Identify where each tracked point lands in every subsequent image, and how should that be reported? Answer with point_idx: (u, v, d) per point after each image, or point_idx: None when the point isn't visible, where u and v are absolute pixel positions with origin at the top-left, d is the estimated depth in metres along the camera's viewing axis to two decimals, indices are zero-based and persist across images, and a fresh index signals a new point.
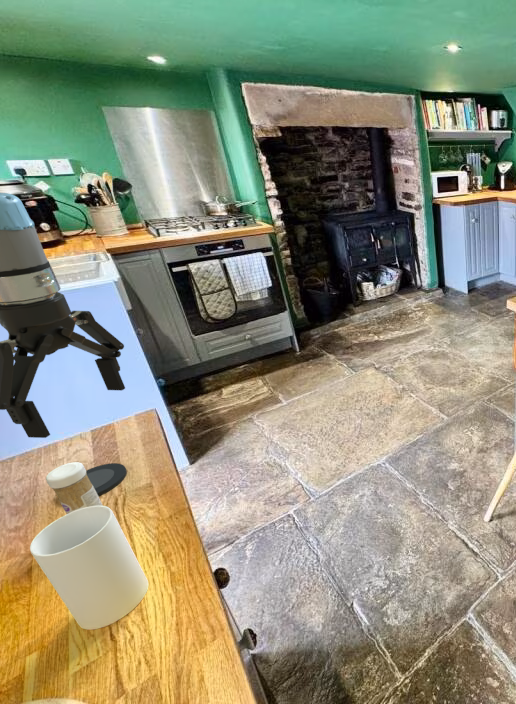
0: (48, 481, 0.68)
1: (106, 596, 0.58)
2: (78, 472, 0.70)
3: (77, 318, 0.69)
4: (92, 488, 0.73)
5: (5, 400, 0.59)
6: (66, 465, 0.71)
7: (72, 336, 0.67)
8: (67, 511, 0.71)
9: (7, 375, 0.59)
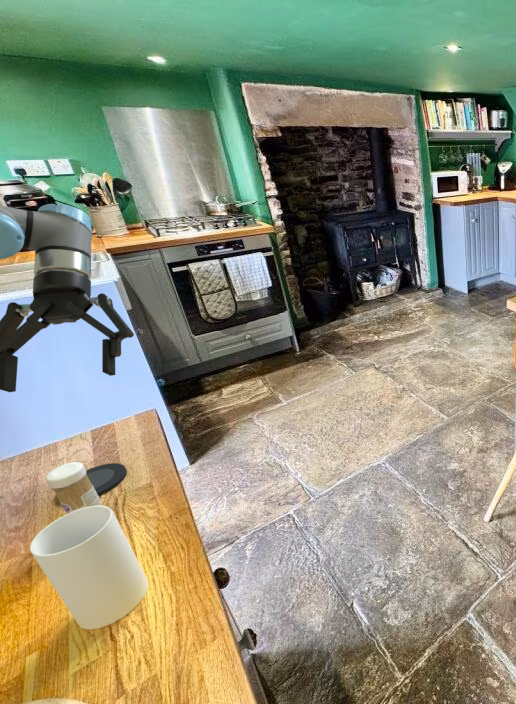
0: (48, 481, 0.68)
1: (106, 596, 0.58)
2: (78, 472, 0.70)
3: None
4: (92, 488, 0.73)
5: None
6: (66, 465, 0.71)
7: None
8: (67, 511, 0.71)
9: None
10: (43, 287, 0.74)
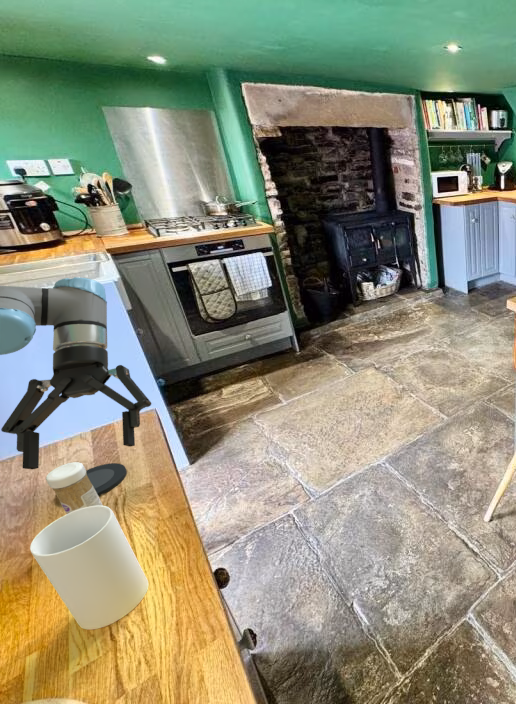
0: (48, 481, 0.68)
1: (106, 596, 0.58)
2: (78, 472, 0.70)
3: None
4: (92, 488, 0.73)
5: None
6: (66, 465, 0.71)
7: None
8: (67, 511, 0.71)
9: None
10: (64, 363, 0.77)
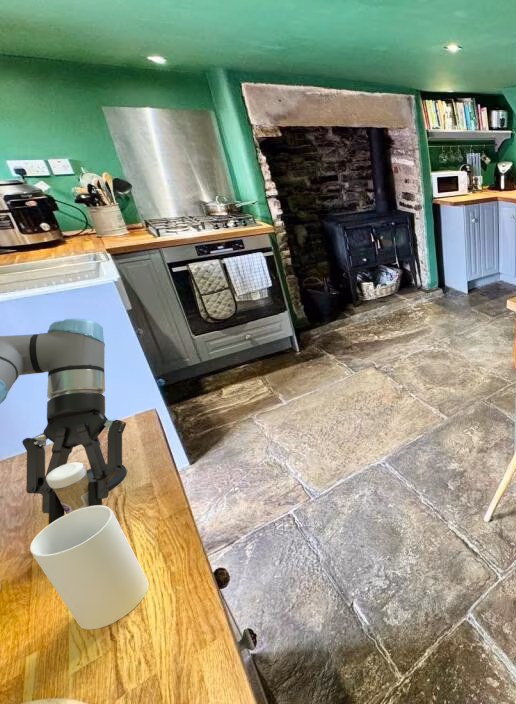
0: (49, 481, 0.68)
1: (106, 596, 0.58)
2: (79, 472, 0.70)
3: None
4: None
5: None
6: (66, 465, 0.71)
7: None
8: (67, 511, 0.71)
9: None
10: (58, 413, 0.73)
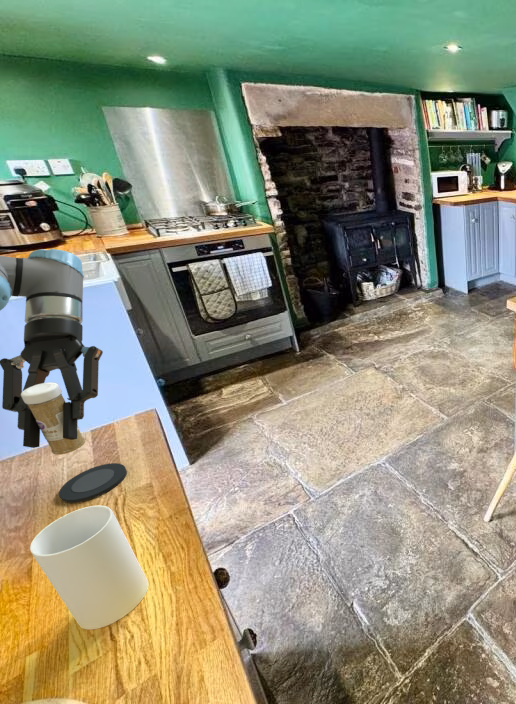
0: (23, 397, 0.70)
1: (106, 596, 0.58)
2: (53, 390, 0.72)
3: None
4: None
5: None
6: (41, 384, 0.72)
7: None
8: (42, 429, 0.72)
9: None
10: (35, 335, 0.74)
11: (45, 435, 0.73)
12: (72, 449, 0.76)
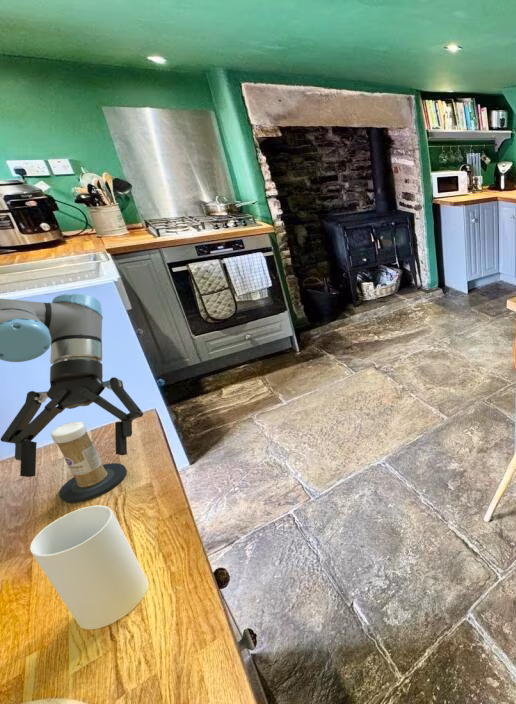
0: (53, 437, 0.76)
1: (106, 596, 0.58)
2: (80, 430, 0.79)
3: None
4: (92, 445, 0.81)
5: None
6: (69, 424, 0.79)
7: None
8: (70, 465, 0.79)
9: None
10: (60, 376, 0.81)
11: (72, 470, 0.80)
12: (96, 482, 0.82)
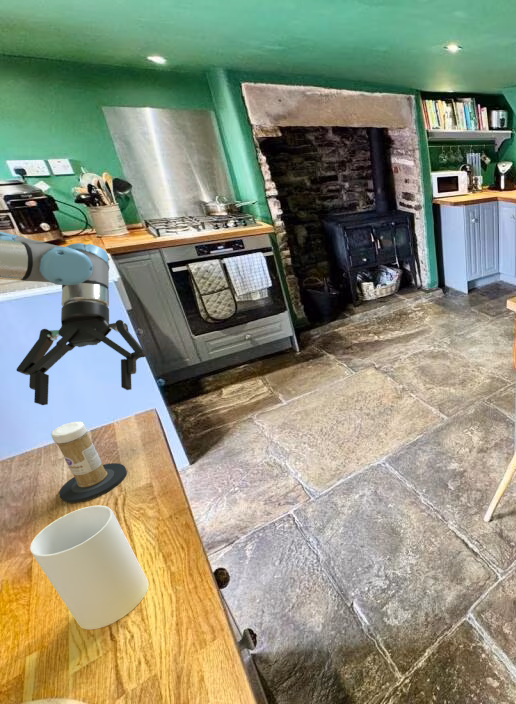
0: (53, 437, 0.76)
1: (106, 596, 0.58)
2: (80, 430, 0.79)
3: None
4: (92, 445, 0.81)
5: None
6: (69, 424, 0.79)
7: None
8: (70, 465, 0.79)
9: None
10: (71, 315, 0.88)
11: (72, 470, 0.80)
12: (96, 482, 0.82)
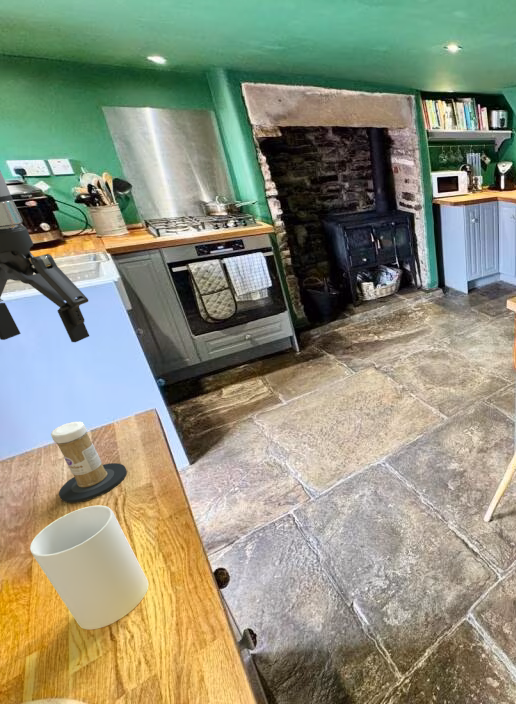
0: (53, 437, 0.76)
1: (106, 596, 0.58)
2: (80, 430, 0.79)
3: None
4: (92, 445, 0.81)
5: None
6: (69, 424, 0.79)
7: None
8: (70, 465, 0.79)
9: None
10: None
11: (72, 470, 0.80)
12: (96, 482, 0.82)
